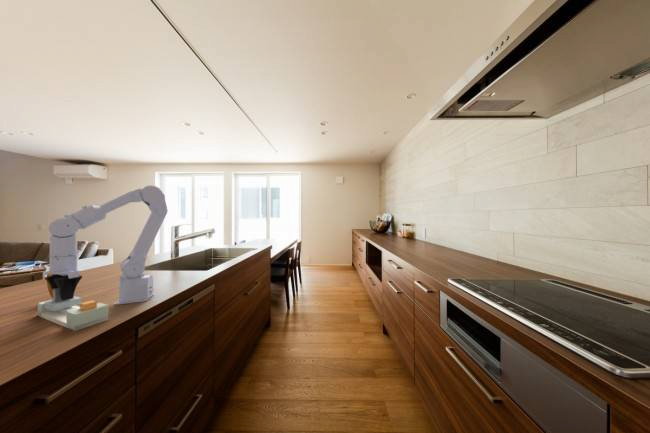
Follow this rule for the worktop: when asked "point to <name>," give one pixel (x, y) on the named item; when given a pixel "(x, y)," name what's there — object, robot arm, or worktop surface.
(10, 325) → the worktop surface
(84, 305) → the orange small block
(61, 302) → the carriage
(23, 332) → the worktop surface
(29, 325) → the worktop surface
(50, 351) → the worktop surface
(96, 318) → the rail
